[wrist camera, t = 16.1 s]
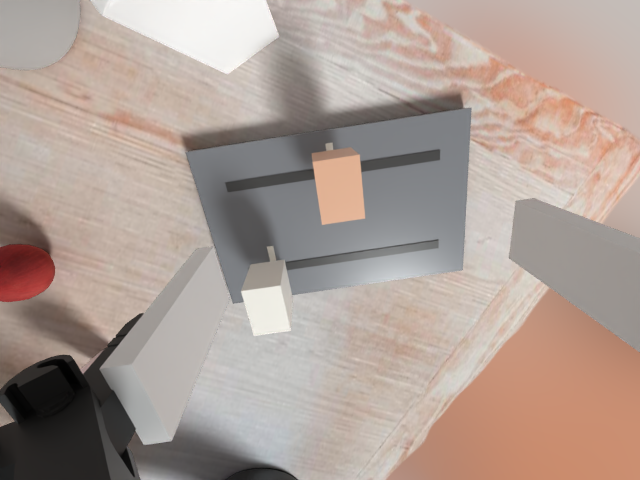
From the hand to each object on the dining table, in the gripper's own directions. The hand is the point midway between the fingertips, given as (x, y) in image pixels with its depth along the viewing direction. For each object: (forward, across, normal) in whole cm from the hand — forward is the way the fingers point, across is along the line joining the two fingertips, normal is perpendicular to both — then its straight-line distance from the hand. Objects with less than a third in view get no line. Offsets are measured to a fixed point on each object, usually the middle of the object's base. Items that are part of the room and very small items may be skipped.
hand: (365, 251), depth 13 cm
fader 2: (+19, 0, 0) cm, 19 cm away
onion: (+21, +34, +5) cm, 40 cm away
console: (+20, 0, +5) cm, 21 cm away
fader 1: (+19, +8, +10) cm, 23 cm away
